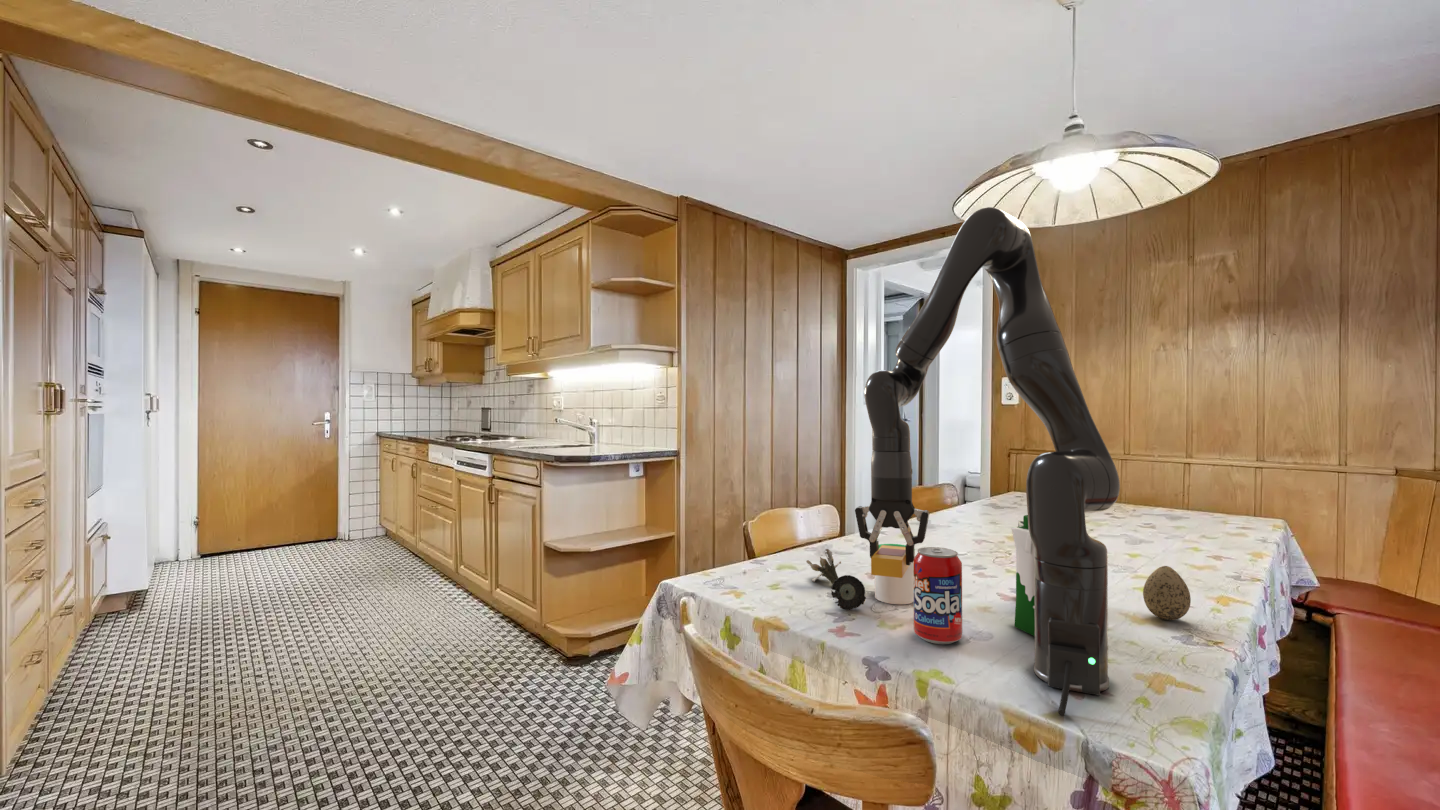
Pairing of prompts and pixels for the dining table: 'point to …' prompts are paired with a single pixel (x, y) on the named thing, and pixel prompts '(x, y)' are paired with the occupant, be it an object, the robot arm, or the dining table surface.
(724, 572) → the dining table surface
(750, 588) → the dining table surface
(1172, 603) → the decorative egg
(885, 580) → the mug
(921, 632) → the soda can
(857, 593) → the dark long pronged piece
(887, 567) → the tea packet
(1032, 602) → the milk carton
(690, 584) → the dining table surface
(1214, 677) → the dining table surface
